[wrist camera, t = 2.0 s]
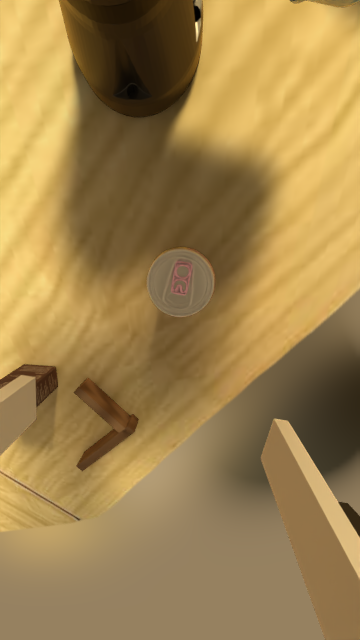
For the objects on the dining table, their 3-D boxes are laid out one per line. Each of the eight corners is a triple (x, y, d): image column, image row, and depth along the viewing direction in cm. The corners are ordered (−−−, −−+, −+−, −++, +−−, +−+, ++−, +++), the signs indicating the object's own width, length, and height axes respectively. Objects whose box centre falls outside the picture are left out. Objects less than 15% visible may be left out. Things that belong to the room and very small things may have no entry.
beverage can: (209, 258, 31) (224, 254, 16) (200, 297, 32) (207, 325, 18) (169, 250, 31) (150, 239, 16) (162, 290, 32) (139, 312, 18)
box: (27, 385, 38) (-44, 438, 27) (24, 363, 37) (-52, 408, 25) (59, 388, 38) (2, 443, 26) (57, 366, 37) (-4, 413, 25)
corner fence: (43, 417, 40) (31, 429, 37) (90, 375, 37) (82, 384, 34) (89, 456, 42) (82, 471, 39) (138, 419, 39) (134, 431, 36)
